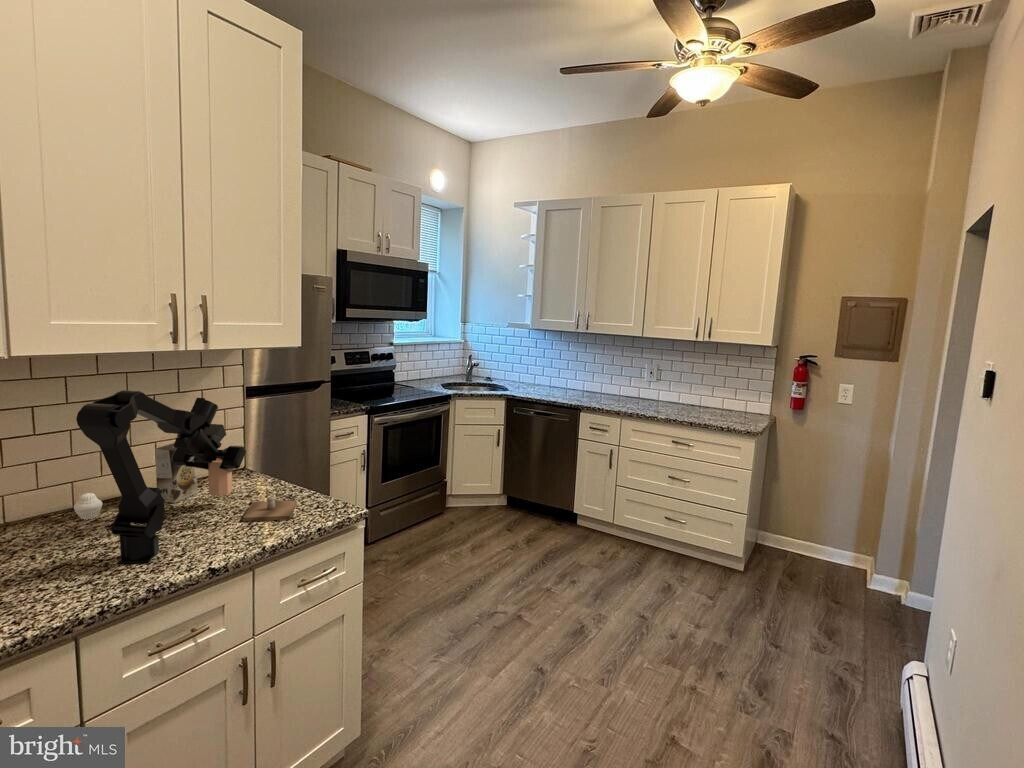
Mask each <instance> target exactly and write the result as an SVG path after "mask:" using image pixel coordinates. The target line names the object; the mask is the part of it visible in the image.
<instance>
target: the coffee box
mask: <svg viewBox="0 0 1024 768" xmlns="http://www.w3.org/2000/svg"><path fill="white" fill-rule="evenodd" d="M174 443H175V442H173V443H170V444H166V445H163V446H160V447H157V448H155V449H154V450H155V451H154V452H155V477H156V480H155V481H156V488H159V490H160V491H161V495H162V497H163V499H164V500H165V501H164V502H163V503H168V502H172V503H171V504H176V503H175V502H177V503H179V502H181V501H183V499H184V500H185V498H186V499H188V498H190V496H191V497H193V496H195V495H197V494H198V475H197V474H198V473H197V469H198V468H195V467H189V466H186V465H175V464H174V463H173V462H172V456H173V454H174V452H175V450H176V448H175V447H174ZM192 495H193V496H192ZM180 500H181V501H180ZM178 501H179V502H178Z"/></svg>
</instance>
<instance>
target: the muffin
mask: <svg viewBox="0 0 1024 768" xmlns="http://www.w3.org/2000/svg"><path fill="white" fill-rule="evenodd" d="M102 507H103V501H102V500H100V499H98V497H97V495H96V494H94V493H93V492H86V493H84V494H81V495H80V496H79V498H78V500H77V502H76V503H75V504H74V505H73V509H74V511H75V513H76V515H77V516H78V517H79V518H80V519H81V520H82V519H84V520H83V521H89V520H88V519H91V520H94V519H96V518H97V517H98V515H99V513H100V511H101V509H102ZM95 517H96V518H95ZM93 518H94V519H93ZM85 519H86V520H85Z"/></svg>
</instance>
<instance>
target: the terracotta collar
mask: <svg viewBox="0 0 1024 768" xmlns="http://www.w3.org/2000/svg"><path fill="white" fill-rule="evenodd" d="M221 463H222V461H221V459H220V458H217V459H216V461H212V463H208V470H207V471H208V473H207V474H208V494H209V495H210V496H216V497H219V496H226V495H229V494H231V493H233V473H232V472H233V471H232V472H230V471H226V470H223V469H220V465H221Z"/></svg>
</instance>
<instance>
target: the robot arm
mask: <svg viewBox="0 0 1024 768" xmlns="http://www.w3.org/2000/svg"><path fill="white" fill-rule="evenodd" d="M218 409H219V406H218V404H217V403H214V402H213V401H210V400H208V399H206V398H205V397H196V399H195V401H194V403H193V406H192V408H191V410H190V411H188V410H182V409H176V408H171V407H170V406H168V405H165V404H164V403H162V402H160V401H158V400H156V399H154V398H152V397H151V396H147V395H146V394H145V393H144V392H142V391H140V390H123V389H122V390H120V391H117V392H116V393H114V394H113V395H109V396H107V397H103V398H99V399H96V400H95V401H92V402H91V403H87V404H84V405H83V406H82V407H80V410H79V411H78V412H77V414H76V415H77V416H76V419H75V420H76V423H77V425H78V427H79V429H80V430H81V432H82V433H83V435H84V436H85V437H86V438H88V439H89V440H91V442H93V443H95V444H96V445H97V446H98V447H99V449H100V451H101V452H102V453H101V454H103V457H104V459H105V461H106V464H107V467H108V468H109V471H110V472H111V475H112V477H113V479H114V482H115V485H117V488H118V490H119V492H120V494H121V497H120V499H119V502H118V505H117V509H118V513H117V515H116V516H115V518H114V520H113V523H112V524H111V526H110V531H111V533H112V535H114V536H117V535H119V545H120V549H119V550H120V558H119V560H118V561H117V564H118V565H121V564H122V565H123V564H138V563H139V564H140V563H142V564H143V563H150V562H151V561H152V560H153V558H155V556H156V555H157V554H158V553H159V552H160V548H159V547H160V545H159V544H160V543H159V535H158V534H157V533H158V532H160V531H161V530H162V529H163V526H164V525H163V524H164V519H165V514H166V506H165V502H164V501H165V500H164V499H163V497H162V495H161V491H160V490H159V488H157V487H150V486H147V484H146V482H145V478H144V477H143V475H142V472H141V470H140V468H139V467H140V466H139V465H138V462H137V460H136V458H135V456H134V452H133V451H132V448H131V446H130V443H129V441H128V438H127V435H128V433H129V431H130V428H131V422H133V420H135V419H136V418H137V416H138V415H139V416H141V417H143V418H146V419H148V420H150V421H152V422H155V423H156V426H157V428H158V429H159V430H161V431H162V432H163V433H165V434H176V437H175V441H174V442H173V443H174V447H175V448H176V450H175V452H174V454H173V456H172V462H173V463H174V464H175V465H186V466H189V467H195V468H197V469H202V470H206V471H208V463H212V461H216V459H217V458H220V459H221V461H222V463H221V465H220V469H223V470H226V471H230V472H233V469H234V470H237V469H239V468H240V467H241V466H242V462H243V460H244V458H245V455H246V453H247V451H246V449H245V447H244V446H243V445H230V446H229V445H228V446H227V447H225V448H224V449H220V448H221V446H222V444H223V443H222V442H221V441H222V440H223V439H224V438H225V437H226V436H227V431H226V429H225V426H224V425H223V424H218V423H217V424H216V423H213V420H214V418H215V416H216V414H217V412H218ZM144 524H145V525H144Z"/></svg>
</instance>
